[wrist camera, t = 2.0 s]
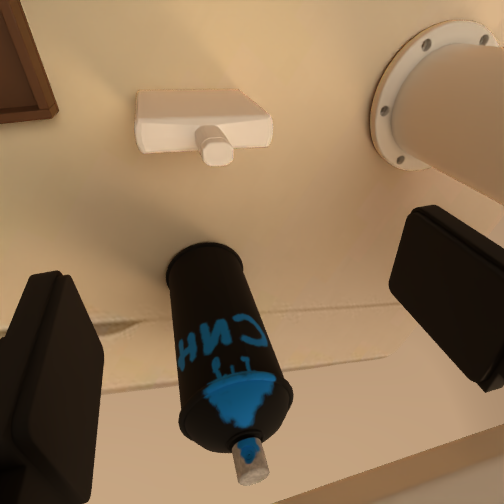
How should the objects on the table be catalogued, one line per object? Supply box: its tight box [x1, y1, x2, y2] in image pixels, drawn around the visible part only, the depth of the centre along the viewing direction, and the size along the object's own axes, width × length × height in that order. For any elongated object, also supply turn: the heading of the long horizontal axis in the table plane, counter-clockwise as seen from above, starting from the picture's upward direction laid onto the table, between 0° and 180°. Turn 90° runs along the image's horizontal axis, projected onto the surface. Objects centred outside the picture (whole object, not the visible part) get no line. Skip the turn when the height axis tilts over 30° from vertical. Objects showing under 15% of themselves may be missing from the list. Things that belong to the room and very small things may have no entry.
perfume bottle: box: [134, 89, 273, 167], centre depth 21 cm, size 8×2×12 cm, turn 88°
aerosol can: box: [166, 243, 293, 485], centre depth 28 cm, size 8×8×20 cm
